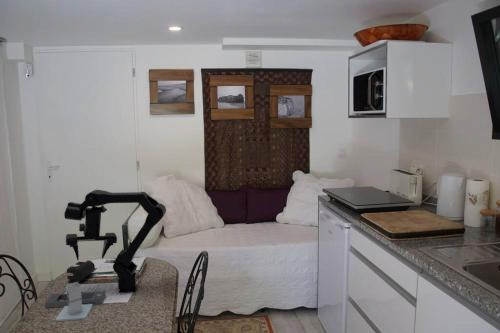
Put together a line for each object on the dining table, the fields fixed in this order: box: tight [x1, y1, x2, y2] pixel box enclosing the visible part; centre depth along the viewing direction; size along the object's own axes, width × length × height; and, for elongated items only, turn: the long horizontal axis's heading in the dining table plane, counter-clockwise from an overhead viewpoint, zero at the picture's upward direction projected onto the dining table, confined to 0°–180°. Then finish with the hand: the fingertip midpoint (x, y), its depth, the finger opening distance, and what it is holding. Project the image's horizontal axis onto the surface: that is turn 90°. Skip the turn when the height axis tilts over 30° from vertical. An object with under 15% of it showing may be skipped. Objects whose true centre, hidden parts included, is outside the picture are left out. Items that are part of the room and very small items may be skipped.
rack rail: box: [44, 290, 107, 309], centre depth 148 cm, size 20×7×2 cm, turn 98°
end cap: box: [66, 260, 96, 284], centre depth 168 cm, size 10×7×7 cm
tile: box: [55, 304, 94, 323], centre depth 139 cm, size 10×10×1 cm
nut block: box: [65, 282, 82, 315], centre depth 139 cm, size 4×4×10 cm
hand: (90, 259), depth 156 cm, fingers open, 9 cm apart
